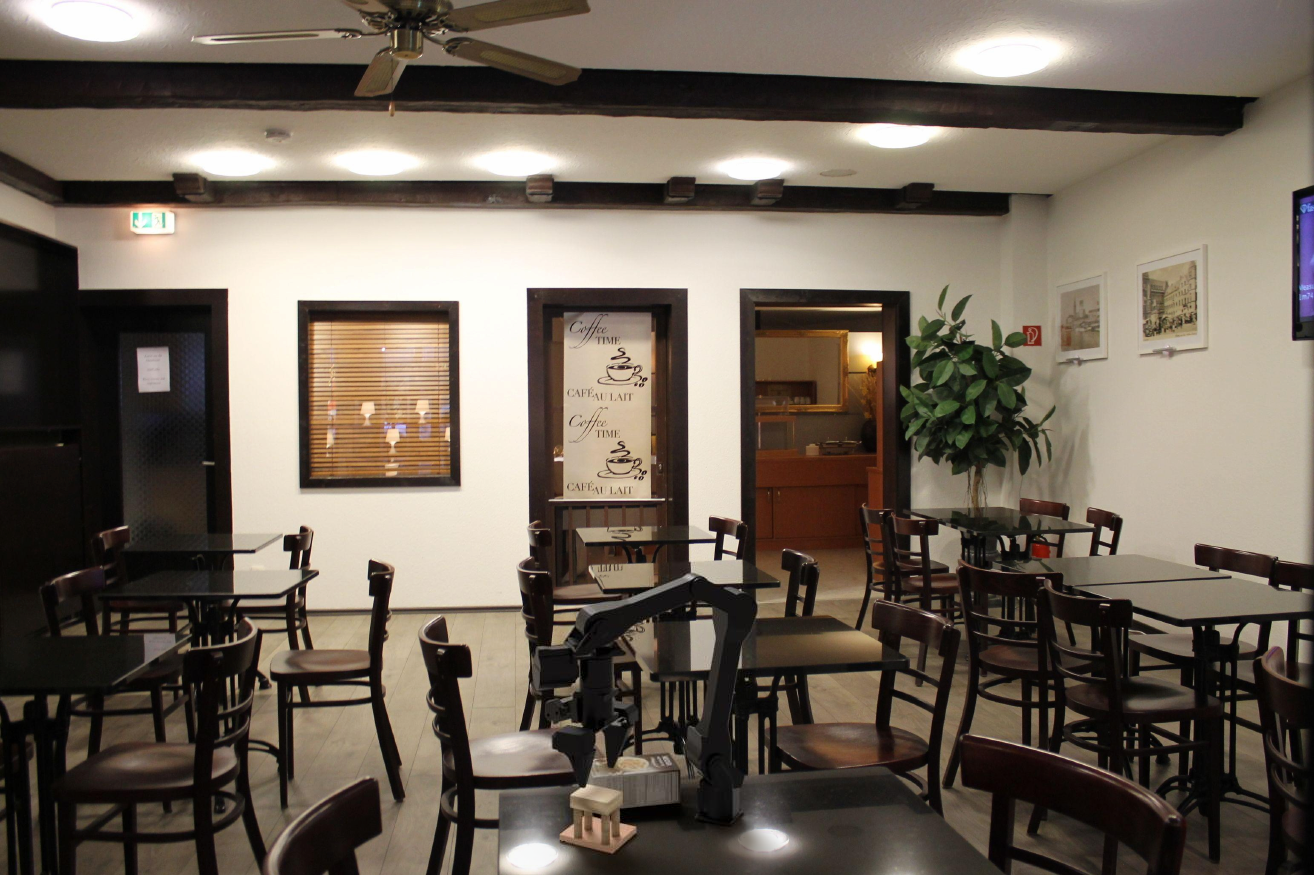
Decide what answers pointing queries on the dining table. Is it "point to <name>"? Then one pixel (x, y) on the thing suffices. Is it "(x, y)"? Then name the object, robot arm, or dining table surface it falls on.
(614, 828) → the oak stool
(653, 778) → the coffee box
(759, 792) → the dining table surface
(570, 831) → the terracotta tile
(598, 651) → the robot arm
